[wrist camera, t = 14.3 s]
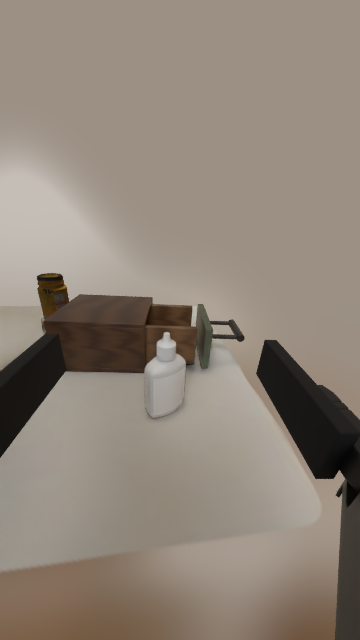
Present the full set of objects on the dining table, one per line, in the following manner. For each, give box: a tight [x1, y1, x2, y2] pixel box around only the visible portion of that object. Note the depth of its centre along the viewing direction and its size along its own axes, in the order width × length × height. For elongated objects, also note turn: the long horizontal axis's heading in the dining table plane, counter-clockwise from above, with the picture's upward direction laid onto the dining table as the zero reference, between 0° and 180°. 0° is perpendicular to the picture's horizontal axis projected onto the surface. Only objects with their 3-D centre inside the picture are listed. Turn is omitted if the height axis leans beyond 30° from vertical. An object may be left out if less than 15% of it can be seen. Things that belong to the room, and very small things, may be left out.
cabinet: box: [43, 294, 152, 373], centre depth 40 cm, size 16×14×10 cm
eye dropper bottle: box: [144, 332, 186, 418], centre depth 27 cm, size 4×6×12 cm
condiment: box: [37, 273, 69, 332], centre depth 50 cm, size 7×8×12 cm
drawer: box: [145, 304, 244, 368], centre depth 41 cm, size 21×12×8 cm, turn 92°
